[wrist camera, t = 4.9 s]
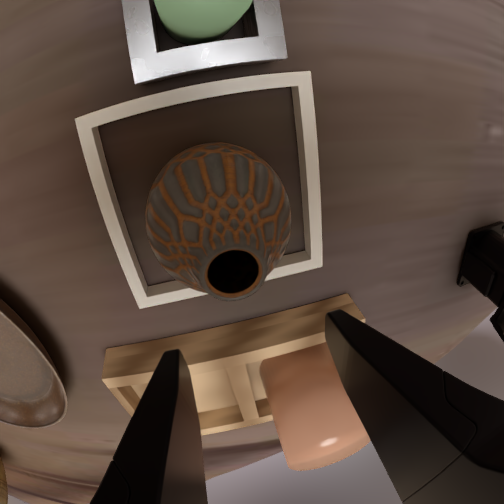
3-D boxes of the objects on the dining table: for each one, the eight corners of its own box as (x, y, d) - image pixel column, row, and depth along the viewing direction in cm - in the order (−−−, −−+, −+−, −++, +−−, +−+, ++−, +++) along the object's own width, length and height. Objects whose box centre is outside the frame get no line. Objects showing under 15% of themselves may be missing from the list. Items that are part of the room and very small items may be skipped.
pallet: (347, 293, 25) (365, 318, 22) (339, 372, 30) (351, 395, 28) (106, 348, 22) (101, 379, 20) (153, 415, 28) (154, 441, 25)
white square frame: (302, 71, 15) (310, 71, 14) (315, 257, 22) (322, 266, 21) (81, 116, 14) (74, 118, 13) (140, 297, 21) (139, 308, 20)
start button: (231, -23, 11) (248, -55, 8) (241, 39, 14) (261, 23, 10) (156, -12, 11) (148, -42, 7) (165, 51, 13) (159, 38, 9)
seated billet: (333, 327, 24) (383, 416, 17) (329, 373, 28) (366, 450, 20) (254, 349, 24) (285, 450, 16) (263, 393, 27) (289, 477, 20)
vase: (155, 245, 19) (146, 349, 12) (150, 134, 16) (121, 178, 8) (262, 241, 21) (310, 336, 13) (272, 135, 17) (344, 179, 10)
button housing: (253, -43, 11) (267, -63, 9) (270, 62, 15) (287, 58, 12) (127, -24, 10) (117, -43, 8) (143, 84, 14) (134, 83, 12)
